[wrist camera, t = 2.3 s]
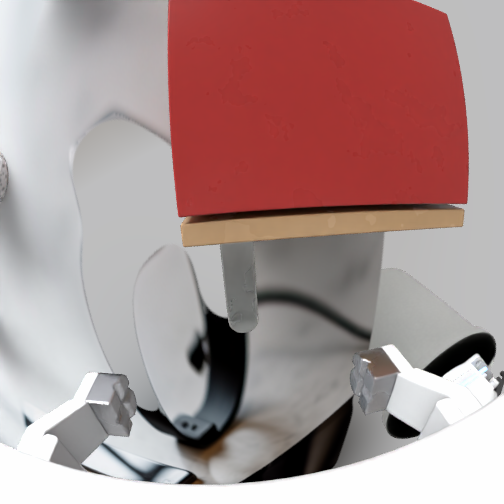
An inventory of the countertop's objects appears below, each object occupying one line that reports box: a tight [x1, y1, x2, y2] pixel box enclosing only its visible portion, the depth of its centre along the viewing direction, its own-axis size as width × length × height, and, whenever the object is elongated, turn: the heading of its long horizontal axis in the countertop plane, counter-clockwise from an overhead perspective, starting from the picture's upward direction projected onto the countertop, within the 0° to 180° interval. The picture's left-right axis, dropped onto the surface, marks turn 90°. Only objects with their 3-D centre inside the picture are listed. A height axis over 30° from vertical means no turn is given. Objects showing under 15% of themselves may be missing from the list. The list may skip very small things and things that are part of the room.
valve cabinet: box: [168, 0, 469, 217], centre depth 15 cm, size 9×12×16 cm
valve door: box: [181, 204, 464, 333], centre depth 18 cm, size 6×12×15 cm, turn 94°
